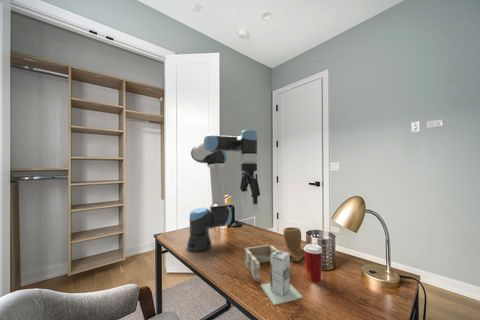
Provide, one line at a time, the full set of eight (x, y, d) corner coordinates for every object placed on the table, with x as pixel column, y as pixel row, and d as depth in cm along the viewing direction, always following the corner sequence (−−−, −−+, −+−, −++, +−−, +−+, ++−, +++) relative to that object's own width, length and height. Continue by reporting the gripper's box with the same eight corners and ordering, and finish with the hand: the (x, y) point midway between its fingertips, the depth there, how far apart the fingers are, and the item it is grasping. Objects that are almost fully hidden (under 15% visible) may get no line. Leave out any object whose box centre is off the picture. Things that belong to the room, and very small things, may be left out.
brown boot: (289, 248, 118) (288, 223, 119) (309, 254, 111) (308, 227, 111) (277, 258, 106) (276, 230, 107) (298, 264, 99) (297, 234, 99)
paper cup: (325, 278, 87) (324, 246, 87) (319, 286, 81) (318, 252, 81) (308, 272, 92) (307, 242, 92) (301, 279, 86) (300, 247, 86)
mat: (260, 286, 82) (260, 284, 82) (285, 280, 86) (285, 279, 86) (274, 305, 70) (273, 304, 70) (302, 298, 74) (302, 296, 74)
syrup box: (277, 284, 82) (276, 249, 83) (290, 289, 78) (289, 253, 79) (270, 290, 78) (269, 253, 78) (283, 297, 74) (282, 258, 74)
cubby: (244, 264, 100) (244, 248, 101) (270, 259, 105) (270, 244, 105) (256, 282, 85) (256, 263, 85) (287, 275, 89) (286, 257, 89)
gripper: (234, 162, 104) (234, 202, 104) (251, 163, 81) (251, 215, 81) (247, 162, 107) (247, 201, 107) (267, 163, 83) (267, 213, 83)
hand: (249, 207), depth 94 cm, fingers open, 13 cm apart
